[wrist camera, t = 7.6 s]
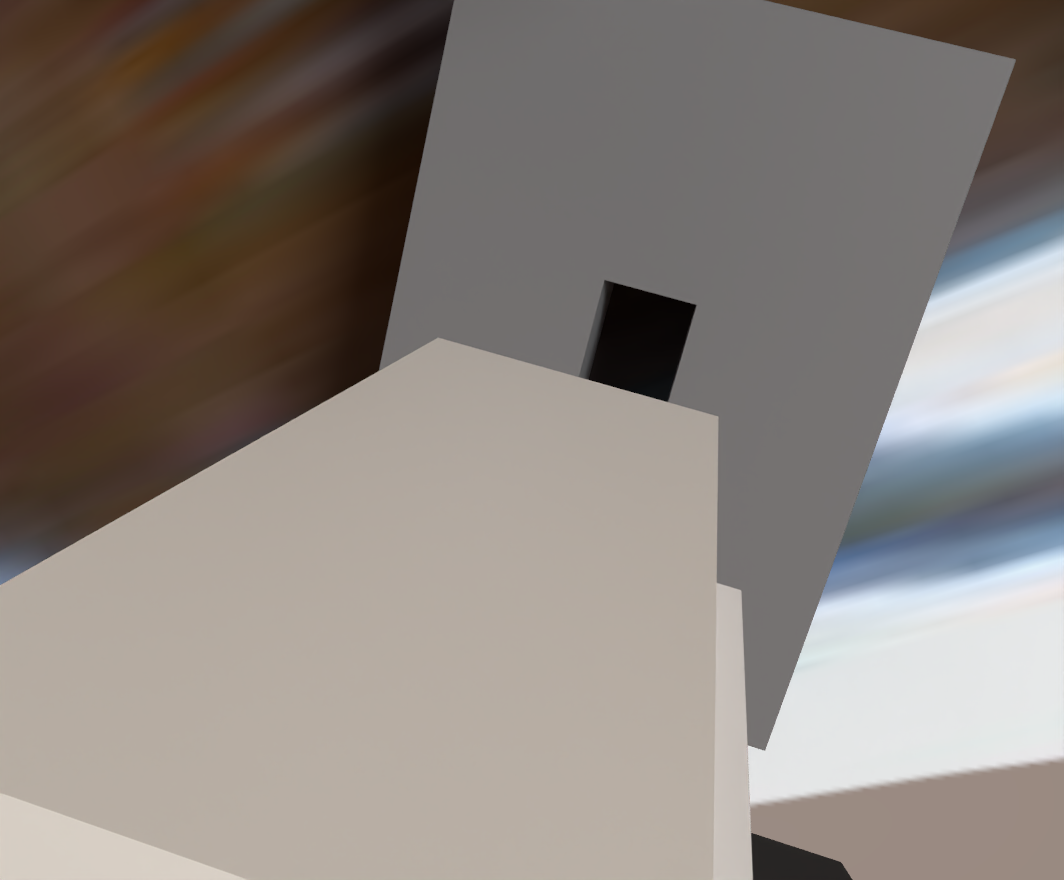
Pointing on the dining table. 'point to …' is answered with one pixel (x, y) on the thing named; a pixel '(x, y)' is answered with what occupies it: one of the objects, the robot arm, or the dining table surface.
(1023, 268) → the dining table surface
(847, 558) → the dining table surface
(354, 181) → the dining table surface
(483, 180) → the header
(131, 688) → the plug
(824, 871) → the robot arm
